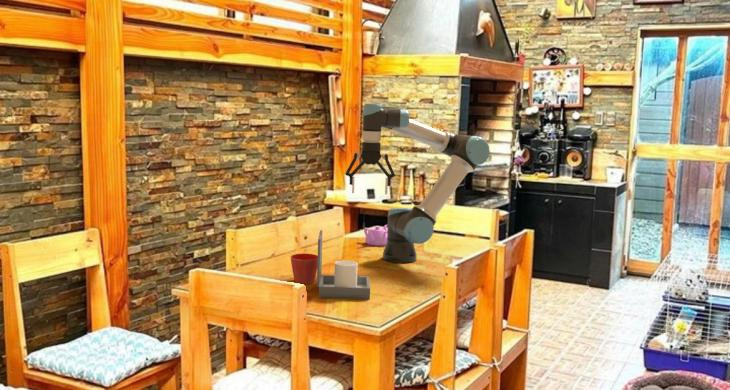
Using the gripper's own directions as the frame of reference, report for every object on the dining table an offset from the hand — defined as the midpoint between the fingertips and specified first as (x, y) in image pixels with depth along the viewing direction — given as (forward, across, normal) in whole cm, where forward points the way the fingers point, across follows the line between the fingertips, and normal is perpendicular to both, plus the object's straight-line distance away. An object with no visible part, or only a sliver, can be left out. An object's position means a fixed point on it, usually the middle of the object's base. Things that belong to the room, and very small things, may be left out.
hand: (369, 193), depth 288 cm
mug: (+31, +8, +36) cm, 49 cm away
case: (+32, +10, +36) cm, 49 cm away
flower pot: (+32, +24, +22) cm, 46 cm away
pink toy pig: (+32, -6, -52) cm, 61 cm away
